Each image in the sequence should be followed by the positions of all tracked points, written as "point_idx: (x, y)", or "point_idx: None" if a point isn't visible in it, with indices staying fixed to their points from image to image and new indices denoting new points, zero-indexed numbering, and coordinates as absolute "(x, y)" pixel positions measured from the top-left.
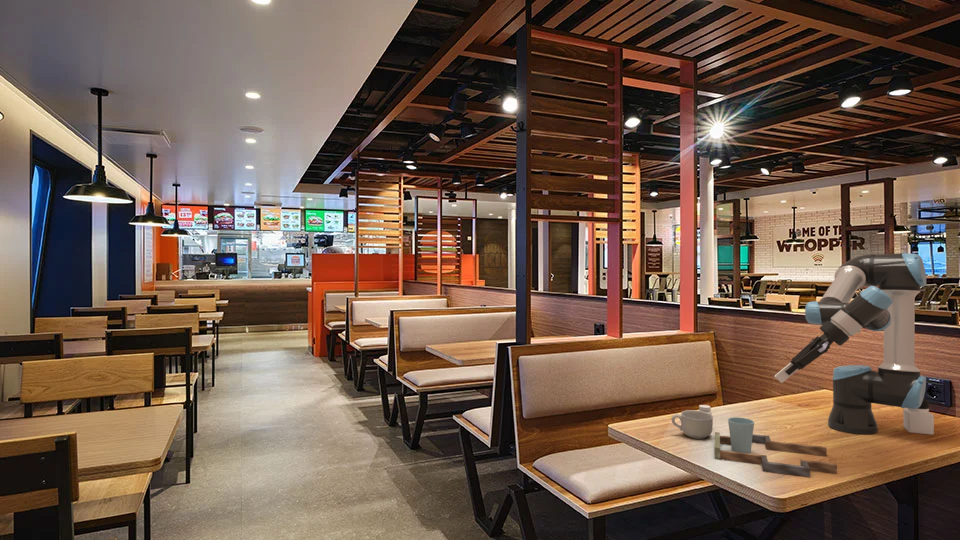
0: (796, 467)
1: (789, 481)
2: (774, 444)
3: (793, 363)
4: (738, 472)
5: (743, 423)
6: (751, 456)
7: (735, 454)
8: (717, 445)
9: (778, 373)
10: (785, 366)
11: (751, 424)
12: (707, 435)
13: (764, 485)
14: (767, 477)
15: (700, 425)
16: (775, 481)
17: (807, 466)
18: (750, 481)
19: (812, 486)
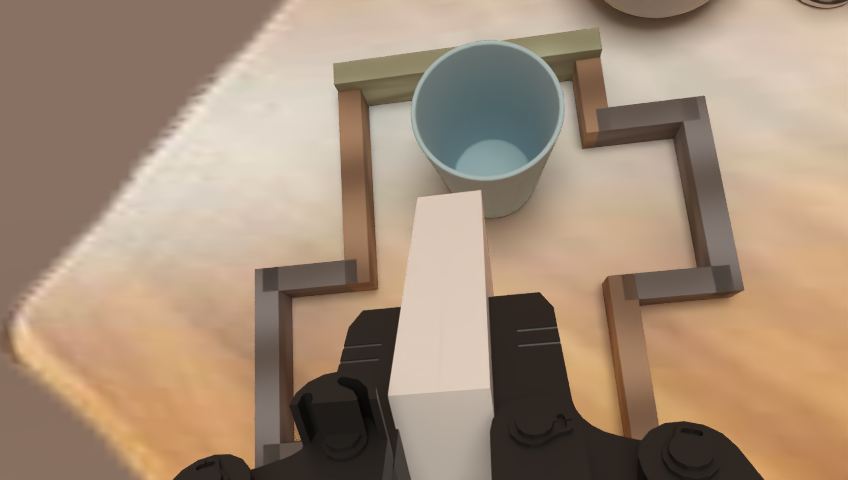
0: (255, 412)
1: (189, 380)
2: (612, 319)
3: (315, 438)
4: (218, 189)
5: (552, 130)
6: (344, 221)
7: (341, 155)
8: (371, 69)
9: (419, 229)
10: (484, 305)
11: (442, 170)
12: (617, 8)
13: (112, 287)
14: (203, 296)
15: None
16: (169, 326)
17: None
18: (136, 237)
19: (164, 468)
